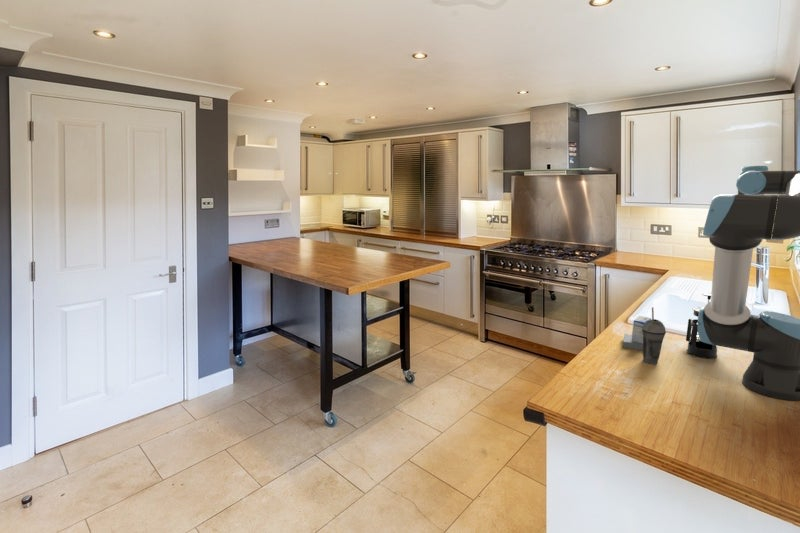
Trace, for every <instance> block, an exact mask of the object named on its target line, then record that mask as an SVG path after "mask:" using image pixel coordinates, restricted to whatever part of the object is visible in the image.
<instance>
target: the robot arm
mask: <svg viewBox="0 0 800 533" xmlns="http://www.w3.org/2000/svg"><path fill="white" fill-rule="evenodd" d="M739 172H740V173H739V176H738V178H737V179H736V184H735V185H736V189H737V194H736V193H732V194H718V195H715V196H714V197H713V198H712V200H711V202H710V205H709V209H708V212H707V216H706V219H705V223H704V227H703V231H702V235H703V236H705V237H708V238H709V243H710V244H711V245H712V246H713V247H714V256H713V258H714V259H713V269H712V270H713V271H712V282H711V293H710V294H711V299H710V301H709V303H708V302H707V303H706V304H705V306H704V307H705V308H701V309H700V311H699V314H698V317H697V319H698V323H697V324H698V326H697V328H698V333H697V334H698V336H699V338H700V340H701V341H702V342H704V343H708V344H712V345H715V346H717V347H723V348H728V349H731V350H732V349H733V350H737V351H743V352H748V353H753V358H752V360H751V362H750V364H748V367H747V368H746V370H745V371H744V373H743V375H742V380H741V382H742V384H743V385H744V387H745V388H747V389H748V390H751V391H753V392H755V393H758V394H760V395H764V396H767V397H769V396H770V397H769V398H774V399H779V400H785V401H800V318H798V317H795V316H793V315H788V314H785V313H782V312H776V311H768V310H763V311H761V312H760V313H759V314H758V315H756V314H751V310H750V308H749V307H748V306H747V305H746V304H747V296H748V289H749V282H750V274H751V267H752V261H753V260H752V259H753V252H754V249H755V248H758V247H759V246H760V245H761V243H762V240H767V241H768V240H769V241H771V240H772V241H782V240H783V241H784V240H790V239H795V238H798V237H800V170H769V167H768V165H748V166H747V165H745V166H742V167H741V170H740V171H739Z"/></svg>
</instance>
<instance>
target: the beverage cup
mask: <svg viewBox="0 0 800 533" xmlns="http://www.w3.org/2000/svg"><path fill="white" fill-rule="evenodd" d="M654 317H655V316H654V307H651V320H648V321H647V322H646V323H645V324H644V325H643V328H642V333H643V351H642V361H643V362H644V363H646V364H650V365H657V364H658V362H659V359H660V354H661V350H662V347H663V342H664V339H665V335H666V333H667V332H666V331H667V330H666V326H665V324H664V323H663V322H662V321H661V320H659V319H656V318H654Z"/></svg>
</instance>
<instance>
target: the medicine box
mask: <svg viewBox="0 0 800 533" xmlns="http://www.w3.org/2000/svg"><path fill="white" fill-rule="evenodd" d="M651 319H652V317H648V316H641V315H638V316H637V317H635V319H634V320H633V321H632V322H633V323H632V324H633V325H632V334H631V335H632V342H636V343H641V344H643V333H642V328H643V325H644V324H645V323H646V322H647V321H648V320H651Z"/></svg>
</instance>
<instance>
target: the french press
mask: <svg viewBox="0 0 800 533" xmlns="http://www.w3.org/2000/svg"><path fill="white" fill-rule="evenodd" d="M702 296H704V297H707V304H708V303H709V302H710V301H711V293H706V292H705V293H703V294H702ZM701 308H705V306H696V307H693V308H692V310H693V315H694V316H695V317H697V318H696V319H695V318H688V321H687V328H686V329H687V330H686V336H685V340H686V342H688V343H687V349H686V353H687V354H689V355H691V356H693V357H696V358H702V359H709V360H710V359H717V357H718V346H715V345H712V344H708V343H704V342H702V341H701V340H700V338H699V336H698V328H697V326H698V314H699V311H700V309H701Z"/></svg>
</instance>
